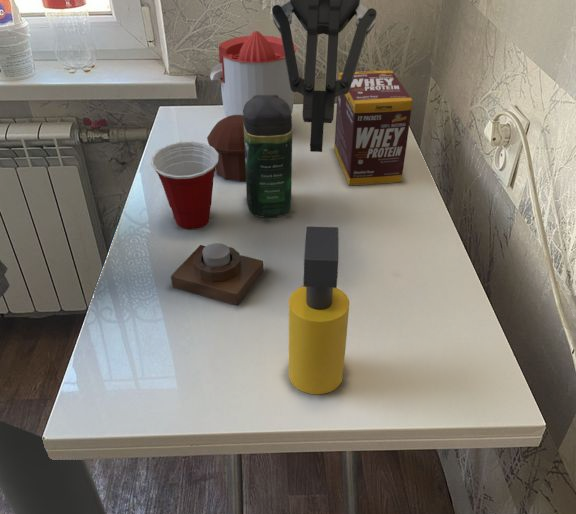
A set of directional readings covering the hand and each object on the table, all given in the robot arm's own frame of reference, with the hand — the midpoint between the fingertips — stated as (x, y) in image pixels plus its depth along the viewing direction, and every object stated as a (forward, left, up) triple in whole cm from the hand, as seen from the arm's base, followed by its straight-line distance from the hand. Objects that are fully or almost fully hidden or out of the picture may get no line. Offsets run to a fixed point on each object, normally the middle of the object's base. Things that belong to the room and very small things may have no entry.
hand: (316, 148), depth 76 cm
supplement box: (-5, +42, -23) cm, 49 cm away
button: (-14, -2, -19) cm, 24 cm away
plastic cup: (-26, +11, -23) cm, 37 cm away
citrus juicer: (-32, +48, -23) cm, 62 cm away
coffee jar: (-16, +21, -23) cm, 35 cm away
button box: (-14, -2, -23) cm, 27 cm away
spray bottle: (+7, -15, -23) cm, 28 cm away
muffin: (-27, +31, -23) cm, 47 cm away
